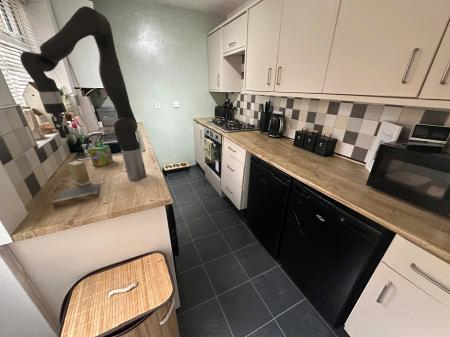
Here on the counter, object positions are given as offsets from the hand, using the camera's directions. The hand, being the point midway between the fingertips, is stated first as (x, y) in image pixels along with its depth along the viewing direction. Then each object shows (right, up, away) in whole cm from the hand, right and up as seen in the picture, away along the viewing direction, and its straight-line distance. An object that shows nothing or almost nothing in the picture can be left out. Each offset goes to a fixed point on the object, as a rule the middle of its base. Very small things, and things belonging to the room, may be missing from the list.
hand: (65, 136), depth 92 cm
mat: (+11, -29, -4) cm, 31 cm away
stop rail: (+14, -31, -10) cm, 36 cm away
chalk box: (-1, -13, +30) cm, 33 cm away
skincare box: (+5, -25, +4) cm, 26 cm away
